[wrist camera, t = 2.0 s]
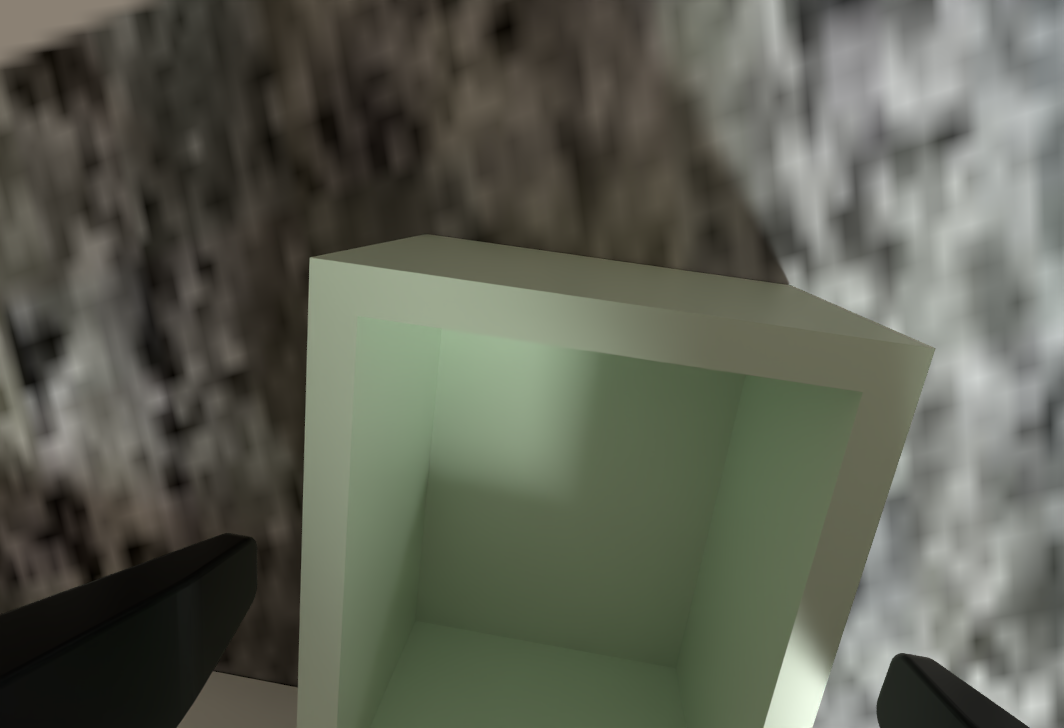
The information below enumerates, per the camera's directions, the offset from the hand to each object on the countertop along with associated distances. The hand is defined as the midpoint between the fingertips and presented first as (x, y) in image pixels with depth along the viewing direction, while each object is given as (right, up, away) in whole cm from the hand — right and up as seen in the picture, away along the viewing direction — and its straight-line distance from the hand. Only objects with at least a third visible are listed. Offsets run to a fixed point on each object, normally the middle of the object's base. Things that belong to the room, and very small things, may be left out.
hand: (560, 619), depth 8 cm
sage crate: (0, +1, +4) cm, 5 cm away
